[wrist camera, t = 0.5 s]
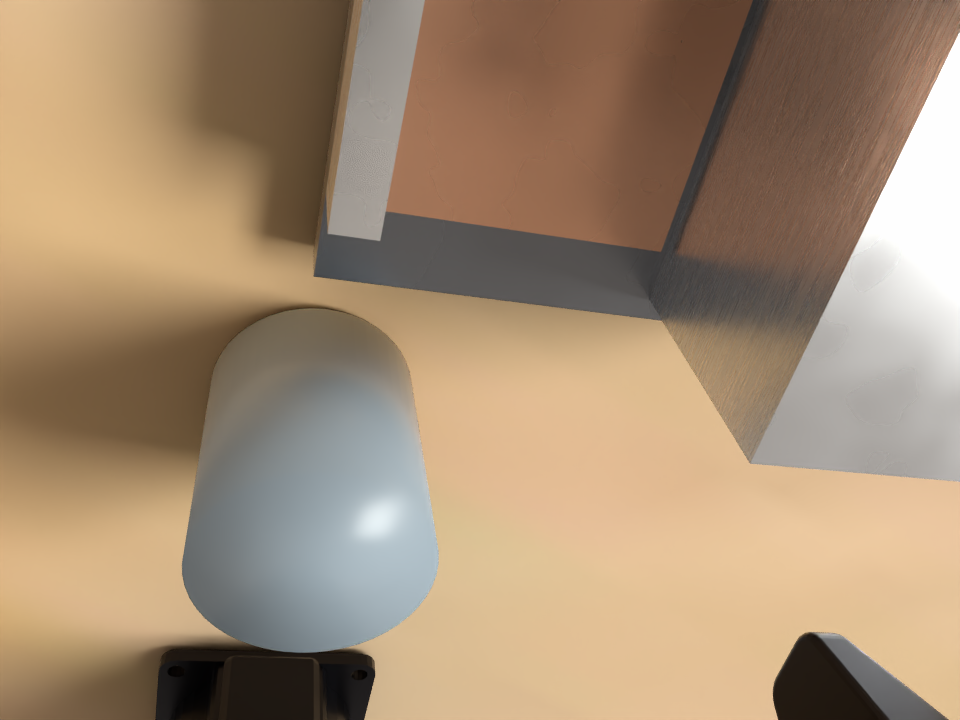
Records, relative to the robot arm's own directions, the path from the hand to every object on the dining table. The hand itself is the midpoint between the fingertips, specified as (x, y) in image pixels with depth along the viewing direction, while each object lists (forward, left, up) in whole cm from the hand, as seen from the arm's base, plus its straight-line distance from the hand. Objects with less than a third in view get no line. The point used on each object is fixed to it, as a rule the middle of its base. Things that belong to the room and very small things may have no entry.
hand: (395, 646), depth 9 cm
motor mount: (+3, -6, -13) cm, 15 cm away
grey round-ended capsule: (-6, 0, -13) cm, 15 cm away
